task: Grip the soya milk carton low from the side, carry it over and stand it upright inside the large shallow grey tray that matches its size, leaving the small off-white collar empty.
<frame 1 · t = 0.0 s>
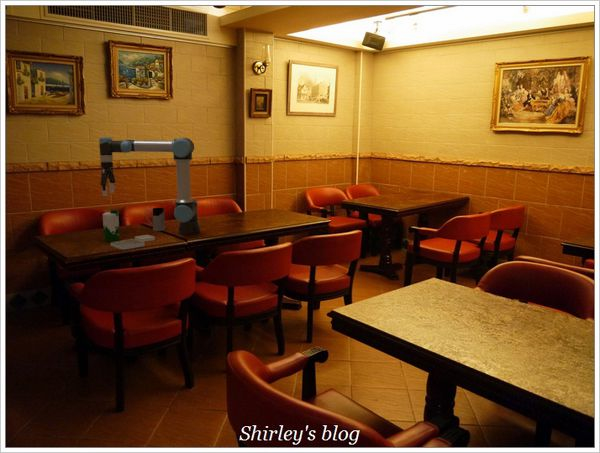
hand: (108, 194, 335), 28 cm above the table, tool pointing down, fingers open, 13 cm apart
shallow grey tray: (127, 245, 315), on the table
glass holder: (155, 229, 364), on the table
small collar: (144, 239, 331), on the table
soya milk: (112, 241, 327), on the table
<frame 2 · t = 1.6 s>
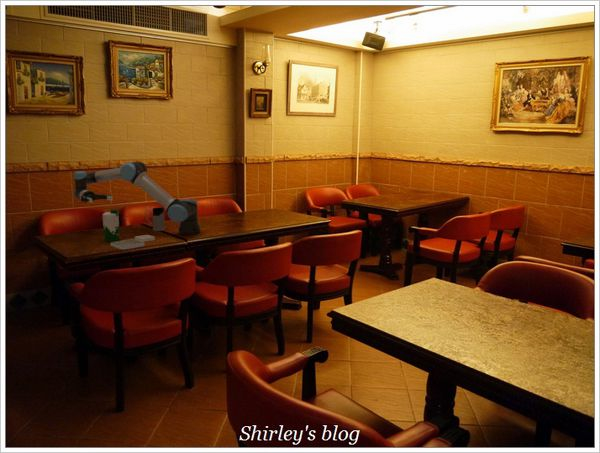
hand: (102, 199, 329), 25 cm above the table, tool horizontal, fingers open, 13 cm apart
nothing on the table moved.
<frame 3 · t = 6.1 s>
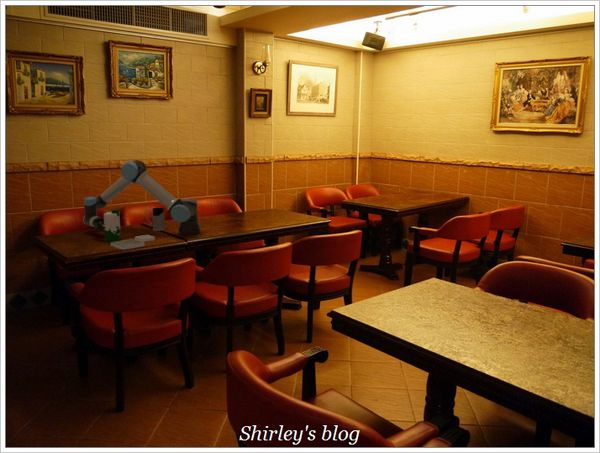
hand: (114, 227, 323), 9 cm above the table, tool horizontal, fingers open, 7 cm apart
soya milk: (113, 240, 328), on the table, touching gripper
everything else where it was.
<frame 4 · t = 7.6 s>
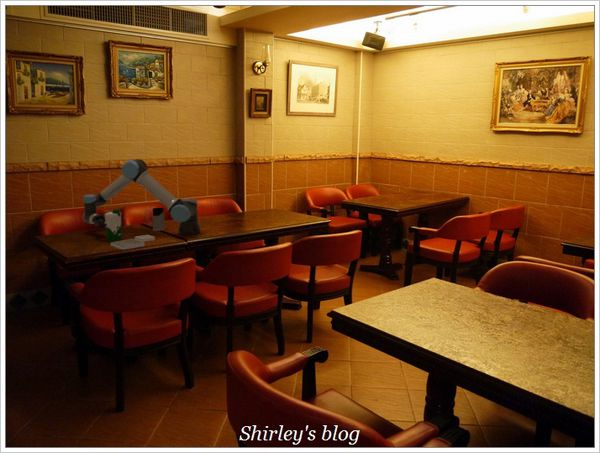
hand: (114, 225, 322), 11 cm above the table, tool horizontal, fingers closed on soya milk, 5 cm apart
soya milk: (114, 240, 328), on the table, touching gripper
everything else where it was.
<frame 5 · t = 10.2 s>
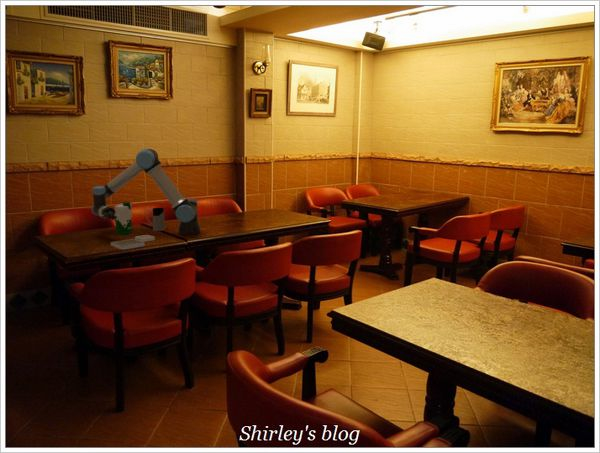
hand: (124, 217, 311), 18 cm above the table, tool horizontal, fingers closed on soya milk, 5 cm apart
soya milk: (124, 234, 316), point 6 cm above the table, touching gripper
everything else where it was.
when the fingers open (12 cm above the table, at t = 12.5 s): soya milk stays where it is, resting on shallow grey tray.
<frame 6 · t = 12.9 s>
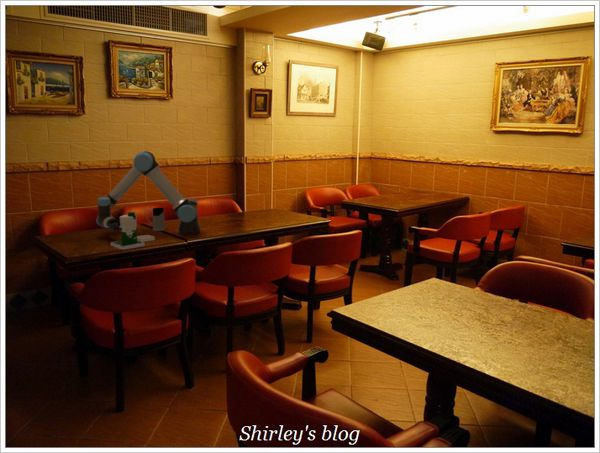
hand: (129, 229, 310), 11 cm above the table, tool horizontal, fingers open, 5 cm apart
soya milk: (129, 244, 315), resting on shallow grey tray, touching gripper
everything else where it was.
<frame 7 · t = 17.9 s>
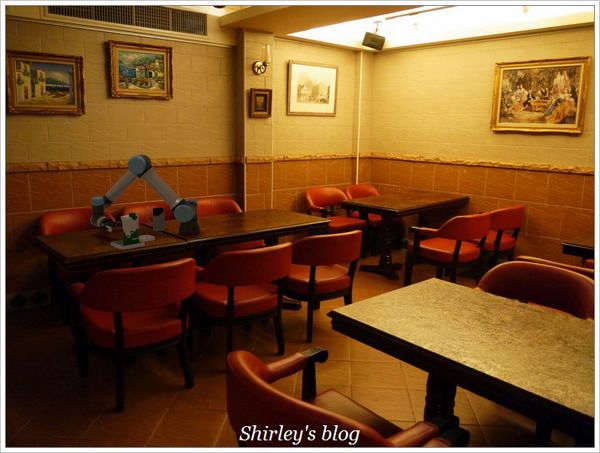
hand: (121, 228, 317), 10 cm above the table, tool horizontal, fingers open, 13 cm apart
soya milk: (131, 245, 315), resting on shallow grey tray
everything else where it was.
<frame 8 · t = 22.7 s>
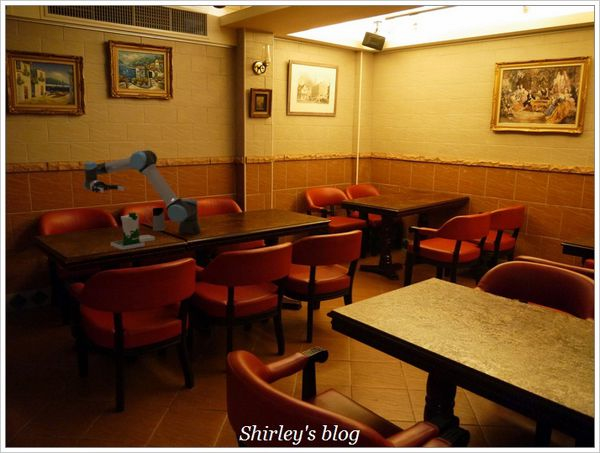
hand: (113, 189, 327), 32 cm above the table, tool horizontal, fingers open, 13 cm apart
nothing on the table moved.
at the end: soya milk 2.1 cm off-centre on the shallow grey tray, point 0.4 cm above the shallow grey tray's base; soya milk tilted 0°; the gripper is holding nothing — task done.
